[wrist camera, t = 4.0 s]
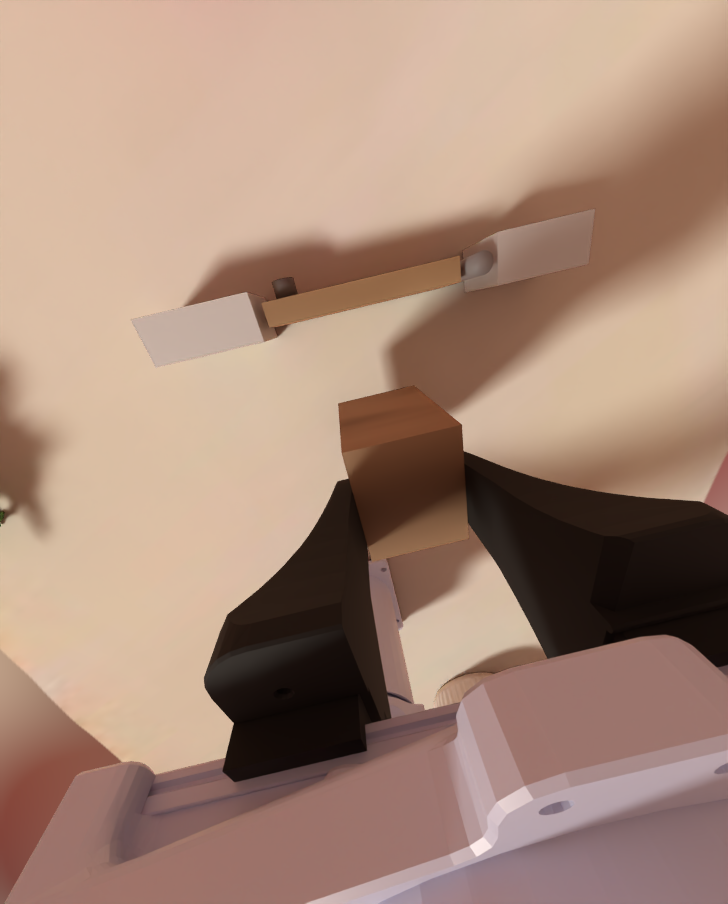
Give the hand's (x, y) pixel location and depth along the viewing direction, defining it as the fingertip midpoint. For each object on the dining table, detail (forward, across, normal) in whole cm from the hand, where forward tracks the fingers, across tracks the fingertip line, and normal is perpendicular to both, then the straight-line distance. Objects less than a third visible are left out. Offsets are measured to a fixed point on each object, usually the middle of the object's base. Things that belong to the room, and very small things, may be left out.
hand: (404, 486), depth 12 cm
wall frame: (+8, 0, -8) cm, 11 cm away
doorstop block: (+4, 0, 0) cm, 5 cm away
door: (+8, 0, -8) cm, 11 cm away
